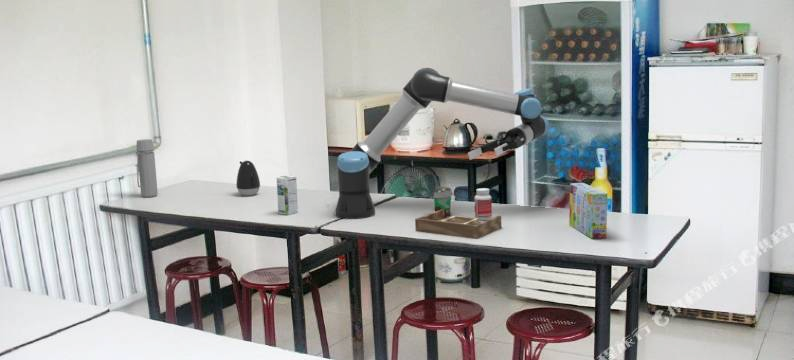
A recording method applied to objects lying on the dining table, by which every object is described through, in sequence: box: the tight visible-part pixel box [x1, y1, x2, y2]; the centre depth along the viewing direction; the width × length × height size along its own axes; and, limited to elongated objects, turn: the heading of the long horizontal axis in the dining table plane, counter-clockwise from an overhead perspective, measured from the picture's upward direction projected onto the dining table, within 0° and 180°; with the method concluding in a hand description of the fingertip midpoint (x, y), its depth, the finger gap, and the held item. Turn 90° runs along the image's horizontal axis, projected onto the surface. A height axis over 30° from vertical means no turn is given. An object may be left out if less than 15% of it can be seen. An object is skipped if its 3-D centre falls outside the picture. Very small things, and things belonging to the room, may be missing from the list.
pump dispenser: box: [236, 160, 261, 197], centre depth 369 cm, size 10×10×15 cm
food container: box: [433, 186, 454, 218], centre depth 316 cm, size 12×6×10 cm, turn 168°
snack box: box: [568, 182, 608, 240], centre depth 284 cm, size 21×6×15 cm, turn 9°
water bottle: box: [135, 138, 159, 198], centre depth 373 cm, size 9×8×25 cm
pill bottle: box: [474, 187, 493, 222], centre depth 308 cm, size 6×6×11 cm
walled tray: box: [414, 209, 502, 239], centre depth 294 cm, size 17×24×4 cm
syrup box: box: [276, 175, 299, 216], centre depth 329 cm, size 6×6×14 cm
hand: (482, 154), depth 309 cm, fingers open, 13 cm apart
